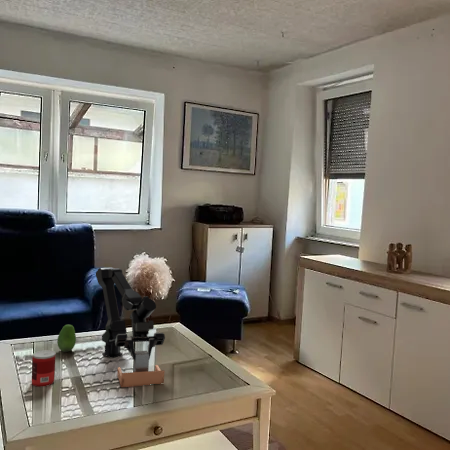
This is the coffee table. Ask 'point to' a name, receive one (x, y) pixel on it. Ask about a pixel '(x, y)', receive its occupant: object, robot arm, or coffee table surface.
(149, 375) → the coupler dock
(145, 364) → the block
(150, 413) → the coffee table surface
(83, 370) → the coffee table surface
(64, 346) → the fruit
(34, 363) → the canned food
